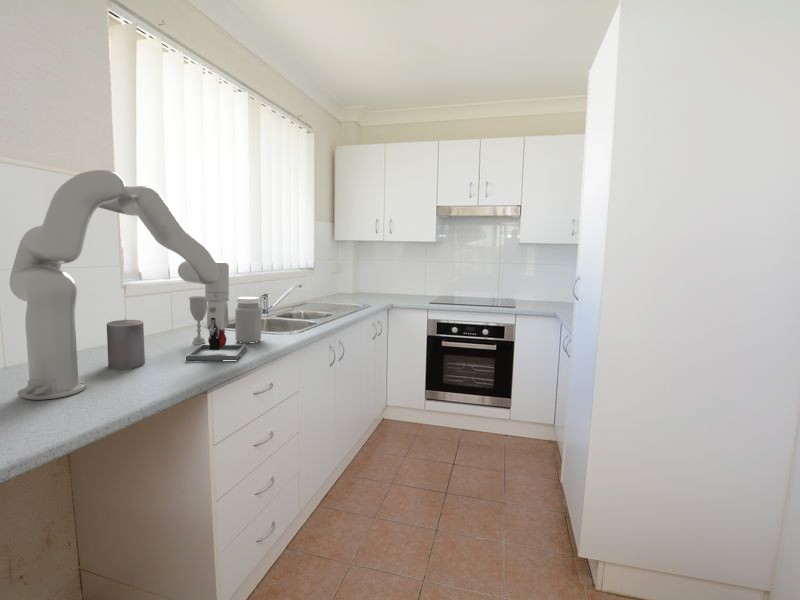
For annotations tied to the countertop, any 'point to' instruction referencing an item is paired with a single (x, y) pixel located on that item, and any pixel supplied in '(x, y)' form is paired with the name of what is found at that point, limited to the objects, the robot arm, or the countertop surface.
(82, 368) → the countertop surface
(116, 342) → the pillar candle
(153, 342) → the countertop surface
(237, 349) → the tray
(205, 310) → the chalice
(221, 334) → the onion
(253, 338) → the jar
